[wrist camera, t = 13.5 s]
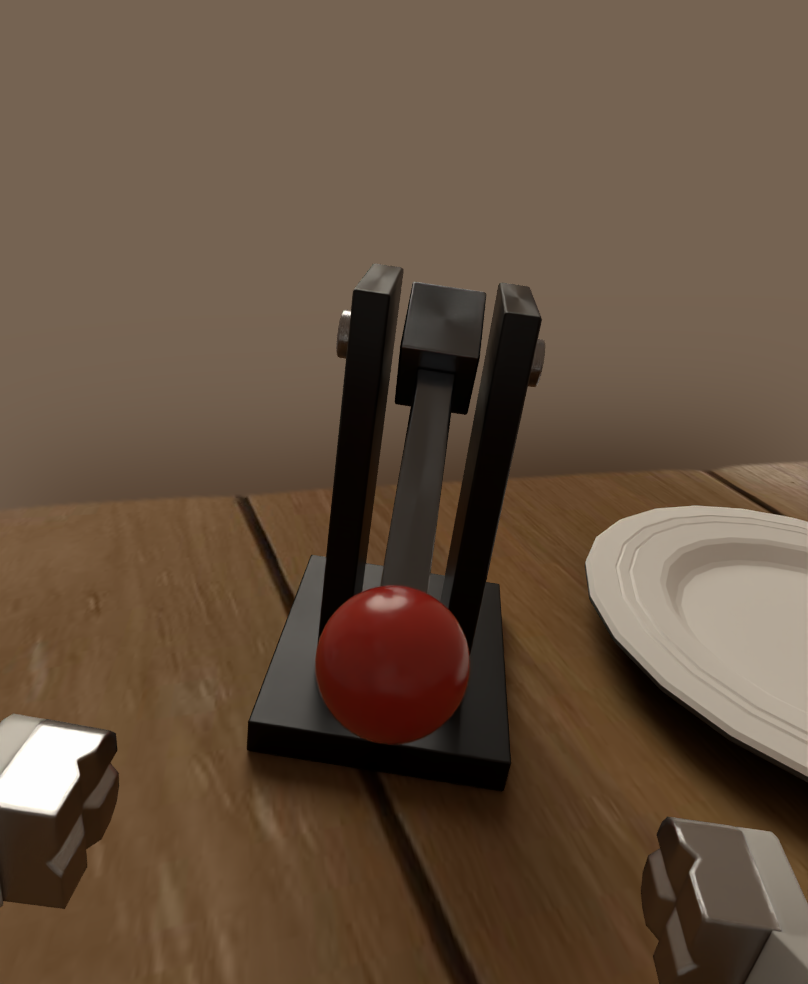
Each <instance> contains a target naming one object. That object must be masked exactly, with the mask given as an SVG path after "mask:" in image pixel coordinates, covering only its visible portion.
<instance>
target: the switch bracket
mask: <svg viewBox="0 0 808 984" xmlns="http://www.w3.org/2000/svg"><path fill="white" fill-rule="evenodd" d="M402 278H403V269H402V268H401V267H394V266H387V265H381V264H373V265H372V266H371V268H370V269H369V270H368V271H367V273H366V274H365V276H364V277H363V278H362V280H361V281H360V282H359V284H358V285H357V286H356V288H355V289H354V291H353V296H352V306H351V311H349V310H344V311H343V312H342V315H341V318H340V322H339V328H338V335H337V356H338V357H340V358H346V366H345V377H344V385H343V396H342V405H341V416H340V425H339V435H338V445H337V455H336V465H335V475H334V485H333V494H332V504H331V514H330V524H329V534H328V544H327V554H326V557H322V556H316V555H311V557H310V559H309V562H308V565H307V567H306V570H305V573H304V575H303V578H302V581H301V583H300V586H299V589H298V591H297V594H296V597H295V599H294V602H293V605H292V607H291V610H290V612H289V615H288V618H287V620H286V623H285V626H284V628H283V631H282V634H281V636H280V639H279V642H278V644H277V647H276V650H275V652H274V655H273V658H272V660H271V663H270V665H269V668H268V671H267V673H266V676H265V679H264V681H263V684H262V687H261V689H260V692H259V695H258V697H257V700H256V703H255V705H254V708H253V710H252V713H251V716H250V718H249V721H248V737H247V750H249V751H255V752H261V753H267V754H274V755H280V756H286V757H292V758H299V759H305V760H311V761H317V762H324V763H330V764H336V765H342V766H349V767H355V768H361V769H368V770H374V771H380V772H386V773H393V774H399V775H405V776H411V777H418V778H424V779H430V780H436V781H443V782H449V783H455V784H461V785H468V786H474V787H480V788H486V789H493V790H499V791H503V790H504V788H505V784H506V781H507V777H508V773H509V769H510V765H511V755H510V740H509V724H508V709H507V694H506V678H505V663H504V648H503V632H502V617H501V601H500V586H499V584H495V583H489V582H486V580H487V575H488V570H489V565H490V561H491V556H492V551H493V547H494V542H495V537H496V533H497V528H498V523H499V519H500V514H501V509H502V504H503V500H504V495H505V490H506V486H507V481H508V476H509V471H510V467H511V461H512V457H513V453H514V448H515V443H516V439H517V434H518V429H519V424H520V420H521V415H522V410H523V406H524V401H525V396H526V392H527V387H528V386H530V387H536V386H537V384H538V382H539V380H540V376H541V372H542V368H543V363H544V356H545V342H544V340H540V339H538V335H539V331H540V326H541V321H542V319H541V316H540V313H539V310H538V308H537V305H536V303H535V300H534V298H533V295H532V293H531V290H530V288H529V287H527V286H520V285H514V284H507V283H500V284H499V285H498V290H497V296H496V301H495V307H494V313H493V318H492V323H491V329H490V334H489V339H488V345H487V350H486V356H485V362H484V366H483V372H482V377H481V383H480V389H479V394H478V399H477V405H476V410H475V415H474V421H473V426H472V432H471V437H470V443H469V448H468V453H467V459H466V464H465V470H464V475H463V481H462V486H461V492H460V497H459V502H458V508H457V513H456V519H455V524H454V530H453V535H452V540H451V546H450V551H449V557H448V562H447V568H446V573H445V576H444V575H438V574H431V573H430V580H429V588H428V594H429V595H431V596H433V597H434V598H436V599H437V600H439V601H440V602H441V603H442V604H444V605H445V606H446V607H447V608H448V609H449V610H450V611H451V612H452V614H453V615H454V616H455V618H456V619H457V621H458V622H459V624H460V626H461V628H462V630H463V632H464V634H465V637H466V639H467V643H468V647H469V654H470V676H469V682H468V686H467V689H466V693H465V695H464V697H463V699H462V702H461V704H460V705H459V707H458V708H457V710H456V711H455V713H454V714H453V716H452V717H451V718H450V719H449V720H448V721H447V722H446V723H445V724H444V725H443V726H442V727H441V728H439V729H438V730H436V731H435V732H433V733H432V734H430V735H429V736H426V737H424V738H422V739H420V740H417V741H414V742H411V743H405V744H394V745H389V744H380V743H375V742H371V741H368V740H365V739H363V738H360V737H358V736H356V735H355V734H353V733H351V732H350V731H348V730H347V729H346V728H344V727H343V726H342V725H341V724H340V723H339V722H338V721H337V720H336V719H335V718H334V717H333V715H332V714H331V713H330V711H329V710H328V708H327V707H326V705H325V703H324V702H323V699H322V697H321V695H320V692H319V689H318V685H317V681H316V674H315V657H316V650H317V645H318V641H319V638H320V636H321V633H322V631H323V629H324V627H325V625H326V623H327V622H328V620H329V619H330V617H331V616H332V615H333V613H334V612H335V611H336V610H337V609H338V608H339V607H340V606H341V605H342V604H343V603H344V602H346V601H347V600H348V599H350V598H351V597H353V596H355V595H356V594H358V593H360V592H363V591H365V590H368V589H371V588H375V587H379V586H380V584H381V578H382V572H383V566H380V565H373V564H367V563H366V558H367V551H368V543H369V535H370V527H371V520H372V512H373V504H374V496H375V488H376V481H377V473H378V465H379V457H380V449H381V441H382V434H383V425H384V418H385V411H386V403H387V395H388V386H389V380H390V372H391V364H392V356H393V348H394V341H395V333H396V325H397V317H398V310H399V301H400V294H401V285H402Z"/></svg>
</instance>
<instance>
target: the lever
mask: <svg viewBox="0 0 808 984" xmlns="http://www.w3.org/2000/svg"><path fill="white" fill-rule="evenodd" d="M485 301H486V293H485V292H479V291H473V290H466V289H459V288H452V287H446V286H439V285H433V284H426V283H419V282H413V284H412V290H411V294H410V300H409V304H408V310H407V315H406V320H405V325H404V330H403V336H402V340H401V345H400V355H399V364H398V375H397V385H396V395H395V404H398V405H405V406H411V409H410V415H409V421H408V427H407V433H406V438H405V445H404V450H403V456H402V462H401V468H400V473H399V479H398V485H397V491H396V497H395V502H394V508H393V514H392V520H391V526H390V531H389V537H388V543H387V549H386V555H385V560H384V566H383V572H382V578H381V584H380V586H379V587H375V588H371V589H368V590H365V591H363V592H360V593H358V594H356V595H355V596H353V597H351V598H350V599H348V600H347V601H346V602H344V603H343V604H342V605H341V606H340V607H339V608H338V609H337V610H336V611H335V612H334V613H333V615H332V616H331V617H330V619H329V620H328V622H327V623H326V625H325V627H324V629H323V631H322V633H321V636H320V638H319V641H318V645H317V650H316V657H315V674H316V681H317V685H318V689H319V692H320V695H321V697H322V699H323V702H324V703H325V705H326V707H327V708H328V710H329V711H330V713H331V714H332V715H333V717H334V718H335V719H336V720H337V721H338V722H339V723H340V724H341V725H342V726H343V727H344V728H346V729H347V730H348V731H350V732H351V733H353V734H355V735H356V736H358V737H360V738H363V739H365V740H368V741H371V742H375V743H380V744H389V745H394V744H405V743H411V742H414V741H417V740H420V739H422V738H424V737H426V736H429V735H430V734H432V733H433V732H435V731H436V730H438V729H439V728H441V727H442V726H443V725H444V724H445V723H446V722H447V721H448V720H449V719H450V718H451V717H452V716H453V714H454V713H455V711H456V710H457V708H458V707H459V705H460V704H461V702H462V699H463V697H464V695H465V693H466V689H467V686H468V682H469V676H470V654H469V647H468V643H467V639H466V637H465V634H464V632H463V630H462V628H461V626H460V624H459V622H458V621H457V619H456V618H455V616H454V615H453V614H452V612H451V611H450V610H449V609H448V608H447V607H446V606H445V605H444V604H442V603H441V602H440V601H439V600H437V599H436V598H434V597H433V596H431V595H429V594H428V588H429V580H430V573H431V565H432V557H433V550H434V542H435V534H436V526H437V519H438V511H439V503H440V495H441V488H442V480H443V471H444V464H445V457H446V449H447V440H448V433H449V426H450V417H451V413H457V414H464V415H466V414H467V413H468V408H469V404H470V399H471V395H472V390H473V385H474V381H475V377H476V372H477V367H478V363H479V358H480V348H481V340H482V330H483V320H484V311H485Z"/></svg>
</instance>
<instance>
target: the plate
mask: <svg viewBox="0 0 808 984" xmlns="http://www.w3.org/2000/svg"><path fill="white" fill-rule="evenodd" d="M585 571H586V578H587V585H588V592H589V599H590V601H591V603H592V604H593V606H594V608H595V610H596V611H597V613H598V615H599V617H600V618H601V620H602V622H603V624H604V625H605V627H606V629H607V630H608V632H609V634H610V636H611V637H612V639H613V641H614V642H615V643H616V644H617V645H618V646H619V647H620V648H621V649H622V650H623V651H624V652H625V654H626V655H627V656H628V657H629V658H630V659H631V660H632V661H633V662H634V663H635V664H636V665H637V666H638V667H639V668H640V669H641V670H642V671H643V672H644V673H645V674H646V675H647V676H648V677H649V678H650V679H651V680H652V681H653V683H654V684H655V685H656V686H657V687H658V688H659V689H660V690H661V691H662V692H664V693H665V694H666V695H668V696H669V697H670V698H672V699H673V700H675V701H676V702H677V703H679V704H680V705H681V706H683V707H684V708H685V709H687V710H688V711H690V712H691V713H692V714H694V715H695V716H696V717H698V718H699V719H701V720H702V721H703V722H705V723H706V724H707V725H709V726H710V727H711V728H713V729H714V730H716V731H717V732H718V733H720V734H721V735H722V736H724V737H725V738H727V739H728V740H729V741H731V742H733V743H735V744H736V745H738V746H740V747H742V748H744V749H746V750H748V751H749V752H751V753H753V754H755V755H757V756H759V757H761V758H763V759H764V760H766V761H768V762H770V763H772V764H774V765H776V766H777V767H779V768H781V769H783V770H785V771H787V772H789V773H791V774H792V775H794V776H796V777H798V778H800V779H802V780H804V781H806V782H807V783H808V522H806V521H803V520H799V519H795V518H791V517H785V516H780V515H774V514H769V513H763V512H757V511H752V510H746V509H738V508H724V507H709V506H684V507H671V508H658V509H653V510H650V511H647V512H643V513H640V514H637V515H633V516H630V517H627V518H623V519H621V520H619V521H617V522H616V523H615V524H613V525H612V526H611V527H609V528H608V529H607V530H605V531H604V532H603V533H601V534H600V535H599V536H597V537H596V539H595V541H594V544H593V546H592V548H591V551H590V553H589V555H588V557H587V560H586V562H585Z"/></svg>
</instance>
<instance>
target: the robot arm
mask: <svg viewBox="0 0 808 984" xmlns="http://www.w3.org/2000/svg"><path fill="white" fill-rule="evenodd" d="M116 752H117V740H116V733H114V732H112V731H109V730H104V729H98V728H93V727H87V726H82V725H77V724H71V723H66V722H60V721H55V720H49V719H40V718H35V717H29V716H24V715H18V714H12V715H10V716H9V717H7V718H5V719H4V720H2V721H1V723H0V907H1V906H3V901H7V902H15V903H23V904H30V905H38V906H46V907H54V908H62V909H65V908H66V906H67V904H68V902H69V900H70V898H71V896H72V894H73V892H74V891H75V889H76V887H77V885H78V883H79V881H80V879H81V877H82V876H83V874H84V872H85V870H86V868H87V854H86V849H88V848H89V847H91V846H92V845H94V844H95V843H97V842H98V841H100V840H101V839H102V837H103V835H104V833H105V831H106V829H107V827H108V825H109V823H110V821H111V818H112V815H113V812H114V809H115V805H116V802H117V797H118V789H119V773H118V772H117V770H116V769H115V768H114V767H113V766H112V764H111V761H112V759H113V757H114V756H115V754H116ZM657 838H658V842H659V846H660V849H658V850H657V851H655V852H654V853H652V854H650V855H649V856H648V858H647V861H646V864H645V867H644V870H643V874H642V885H641V899H642V909H643V914H644V919H645V923H646V926H647V927H648V928H649V929H650V931H651V932H652V933H653V934H654V935H655V937H656V938H657V939H658V940H659V942H658V945H657V947H656V950H655V952H654V954H653V959H654V963H655V968H656V972H657V976H658V980H659V984H808V903H807V901H806V899H805V897H804V895H803V892H802V890H801V888H800V886H799V883H798V881H797V879H796V877H795V875H794V872H793V870H792V868H791V866H790V864H789V861H788V859H787V857H786V855H785V852H784V850H783V848H782V846H781V844H780V841H779V839H778V838H777V837H776V836H775V835H774V834H773V833H772V832H768V831H762V830H755V829H748V828H741V827H733V826H729V825H722V824H715V823H708V822H701V821H694V820H687V819H680V818H673V817H667V818H666V819H665V820H663V821H662V823H661V825H660V827H659V830H658V832H657Z"/></svg>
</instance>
